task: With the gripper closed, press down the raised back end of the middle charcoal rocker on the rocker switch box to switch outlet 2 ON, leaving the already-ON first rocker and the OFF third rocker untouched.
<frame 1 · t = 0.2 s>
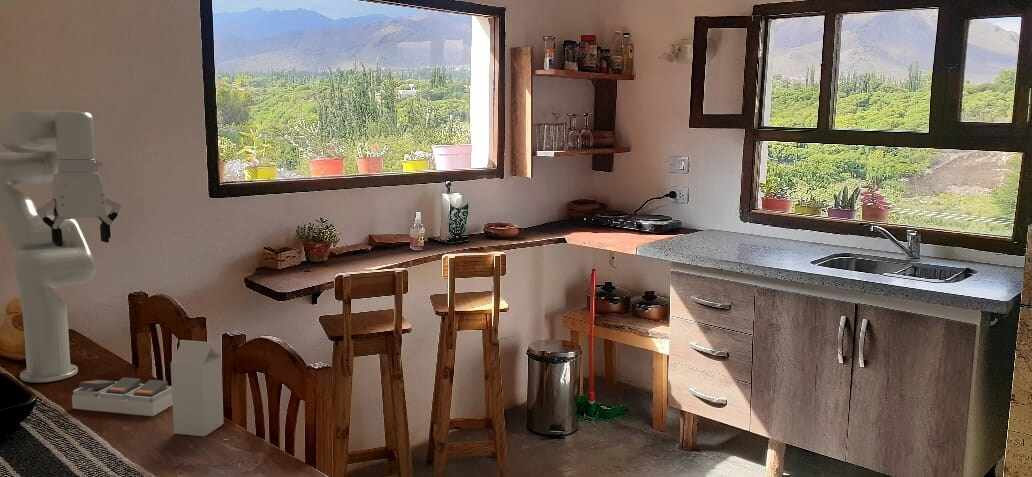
hand: (82, 243, 184), 36 cm above the table, tool pointing down, fingers open, 9 cm apart
rocker switch box: (125, 405, 185), on the table
milk carton: (199, 430, 172), on the table
rocker 2: (123, 386, 184), point 5 cm above the table, hinge at 12.0°
rocker 1: (97, 383, 186), point 5 cm above the table, hinge at -12.0°
rocker 3: (150, 388, 183), point 5 cm above the table, hinge at 12.0°
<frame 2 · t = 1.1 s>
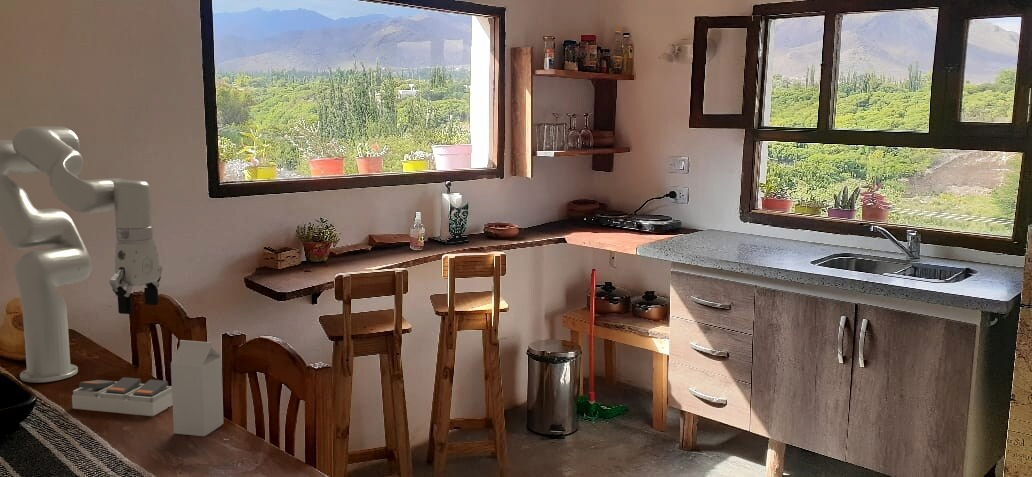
hand: (139, 308, 190), 20 cm above the table, tool pointing down, fingers open, 8 cm apart
nothing on the table moved.
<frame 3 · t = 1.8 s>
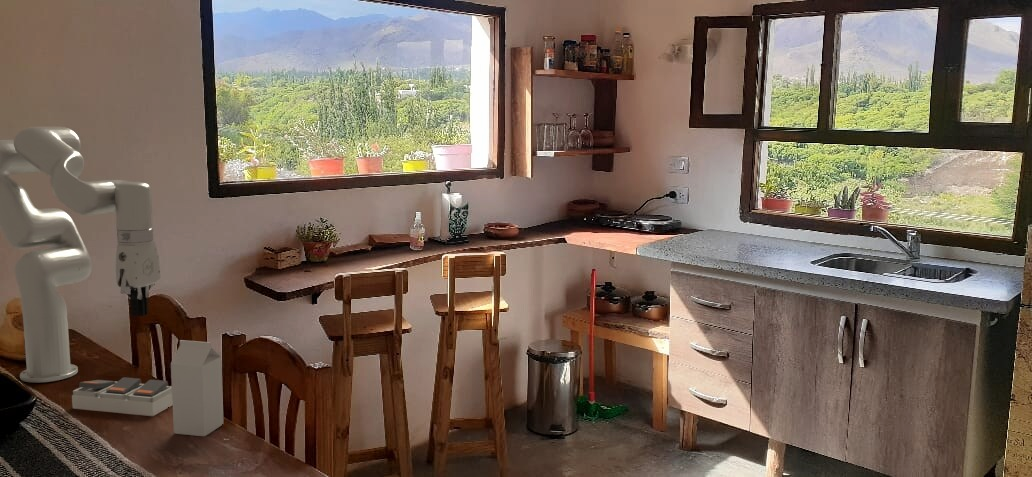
hand: (139, 314, 190), 19 cm above the table, tool pointing down, fingers closed
nothing on the table moved.
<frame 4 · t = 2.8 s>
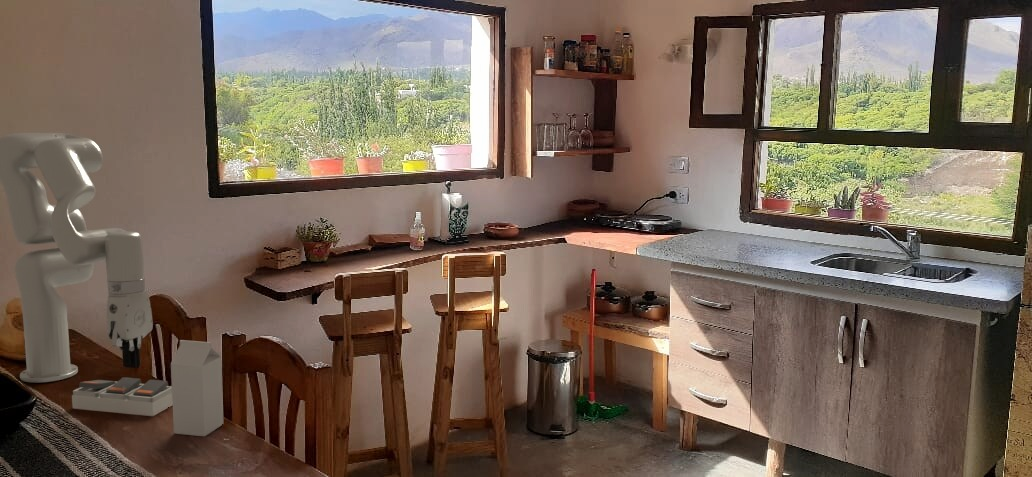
hand: (131, 366, 186), 8 cm above the table, tool pointing down, fingers closed
nothing on the table moved.
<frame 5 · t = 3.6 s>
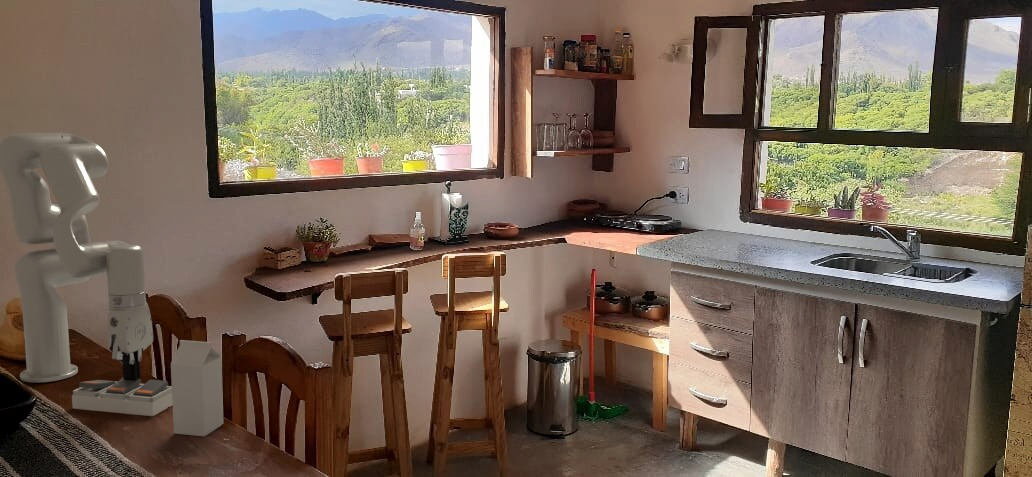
hand: (132, 379, 187), 5 cm above the table, tool pointing down, fingers closed
rocker 2: (123, 386, 184), point 5 cm above the table, hinge at 11.9°, touching gripper
everything else where it was.
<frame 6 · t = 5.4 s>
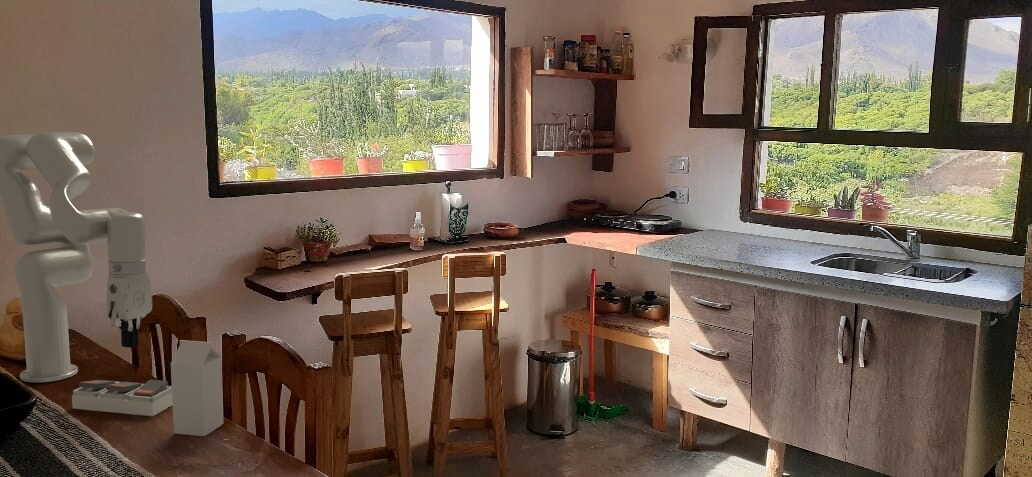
hand: (130, 346, 187), 13 cm above the table, tool pointing down, fingers closed
rocker 2: (123, 386, 184), point 5 cm above the table, hinge at -9.9°
everything else where it was.
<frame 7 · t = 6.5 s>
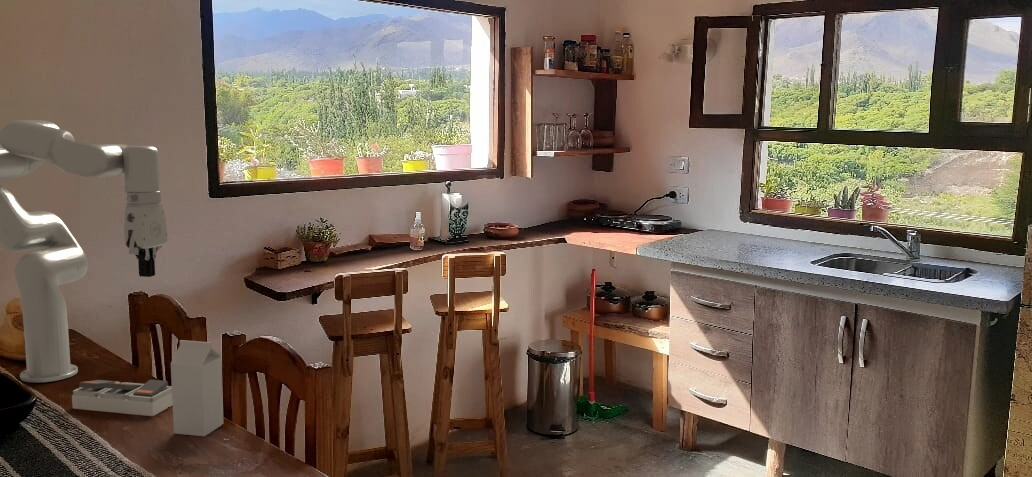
hand: (147, 275, 195), 27 cm above the table, tool pointing down, fingers closed
rocker 2: (124, 386, 184), point 5 cm above the table, hinge at -18.9°
everything else where it was.
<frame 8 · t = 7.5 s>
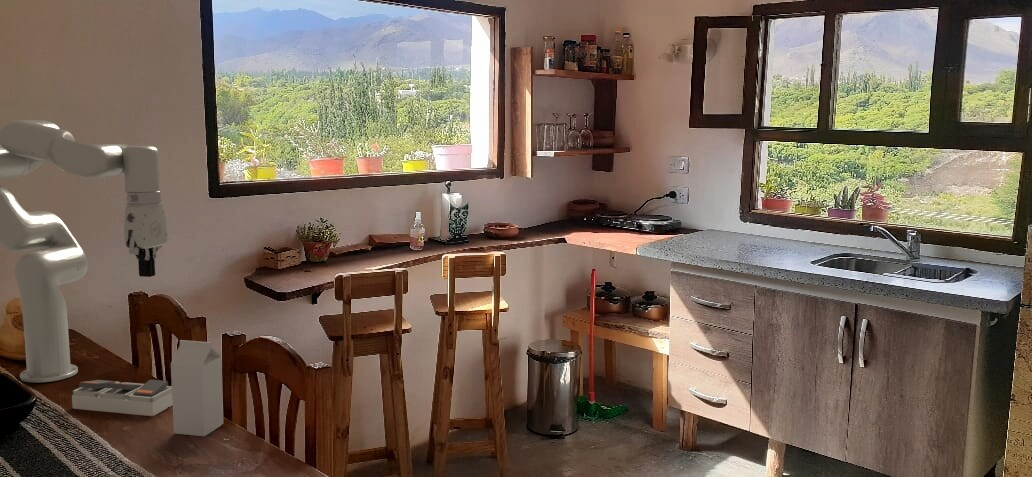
hand: (147, 275, 195), 27 cm above the table, tool pointing down, fingers closed
rocker 2: (124, 386, 184), point 5 cm above the table, hinge at -19.6°
everything else where it was.
at the end: rocker 2 at -19° (first picture: +12°); rocker 1 at -12° (first picture: -12°); rocker 3 at +12° (first picture: +12°) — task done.
